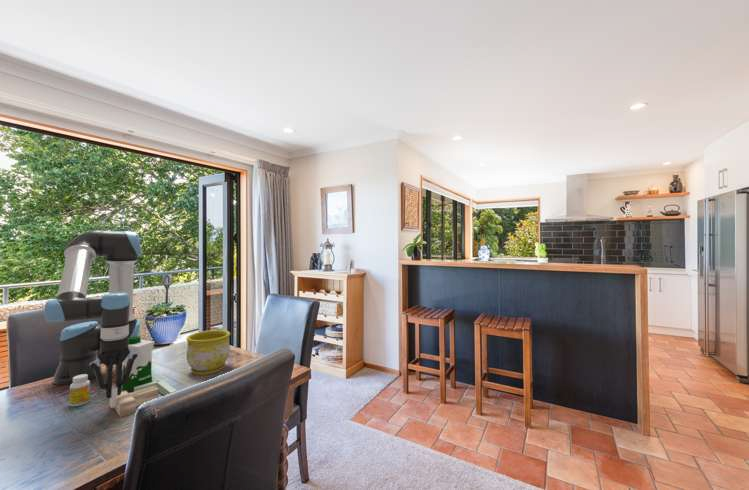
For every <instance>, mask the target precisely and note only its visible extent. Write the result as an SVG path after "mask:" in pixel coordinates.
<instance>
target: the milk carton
mask: <svg viewBox="0 0 749 490" xmlns="http://www.w3.org/2000/svg"><path fill="white" fill-rule="evenodd" d="M154 345H155V341H154V340H153V341H152V340H145V339H141V336H139V335H138V336H136V337H130V338H129V347H128V348H129V350H130V352H132V353H136V354H137V355H138V356H137V358H136V359H135V360H134V363H133V366H132V370H131V373H130V376H129V380H128V382H127V383H124V384H122V386H121V391H125V390H126V391H127V392H134V387H137V386H140V385H144V384H147V383H150V382H153V374H152V365H153V364H152V361H153V359H152V358H153V357H152V356H153V348H154ZM128 359H129V358H128V356H127V358H126V359H125V360H124V361H123V364H122V375H123V374H124V371H125V368H126V365H127V361H128Z"/></svg>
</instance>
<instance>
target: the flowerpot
mask: <svg viewBox="0 0 749 490" xmlns="http://www.w3.org/2000/svg"><path fill="white" fill-rule="evenodd" d="M230 336H231V332H230V331H228V330H225V329H223V330H222V329H212V330H210V329H209V330H203V331H198V332H195V333H191V334H189V335H188V336H187V337H186V341H187V348H186V361H187V364H188V365H189V367H190V372H192V373H193V374H194V375H197V376H207V375H208V374H209V375H213V374H217V373H220V372H221V371H222V370H224V368H225V367H226V362H227V360H228V358H229V356H230V350H231V348H230V347H231V345H230Z"/></svg>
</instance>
